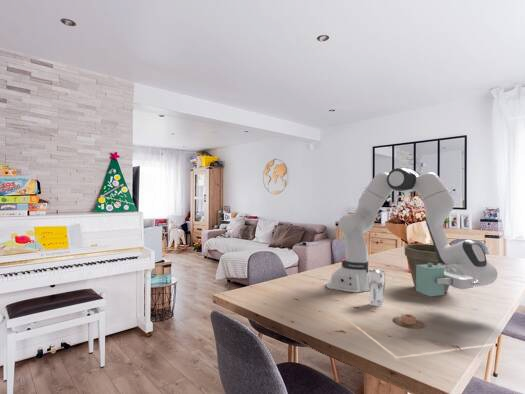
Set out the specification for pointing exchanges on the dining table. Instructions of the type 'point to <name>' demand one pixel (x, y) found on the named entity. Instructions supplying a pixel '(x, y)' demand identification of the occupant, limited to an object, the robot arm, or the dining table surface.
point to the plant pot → (421, 258)
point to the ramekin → (408, 319)
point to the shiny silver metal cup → (376, 286)
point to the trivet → (418, 324)
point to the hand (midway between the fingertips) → (427, 278)
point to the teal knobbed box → (429, 279)
